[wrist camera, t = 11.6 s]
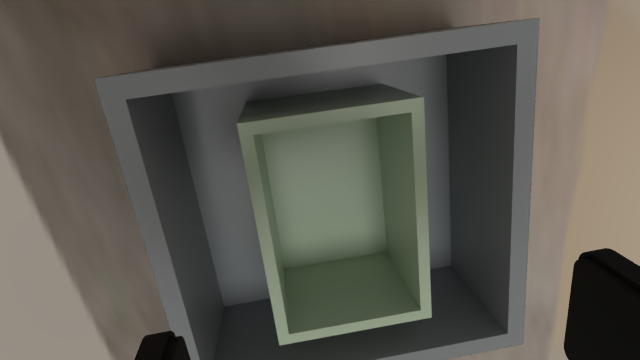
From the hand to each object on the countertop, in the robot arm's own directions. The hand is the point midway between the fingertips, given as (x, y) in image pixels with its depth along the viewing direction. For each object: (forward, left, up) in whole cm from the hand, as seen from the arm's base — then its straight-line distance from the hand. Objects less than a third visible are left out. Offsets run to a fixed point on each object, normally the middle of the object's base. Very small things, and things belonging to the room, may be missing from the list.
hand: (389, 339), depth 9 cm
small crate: (+1, 0, -13) cm, 13 cm away
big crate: (+1, 0, -14) cm, 14 cm away
